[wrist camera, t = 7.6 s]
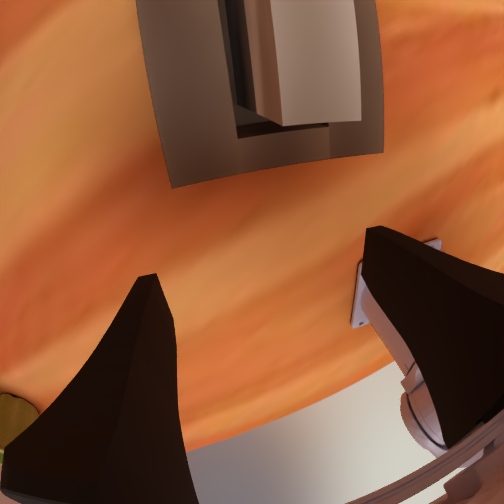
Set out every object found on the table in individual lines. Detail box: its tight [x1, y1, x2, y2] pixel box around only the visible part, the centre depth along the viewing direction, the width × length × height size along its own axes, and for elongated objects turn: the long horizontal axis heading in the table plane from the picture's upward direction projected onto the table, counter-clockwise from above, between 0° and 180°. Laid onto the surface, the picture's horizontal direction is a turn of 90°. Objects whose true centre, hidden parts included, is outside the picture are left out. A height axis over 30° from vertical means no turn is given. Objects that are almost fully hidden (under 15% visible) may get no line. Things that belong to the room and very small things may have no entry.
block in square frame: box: [136, 0, 384, 189], centre depth 11 cm, size 10×11×5 cm
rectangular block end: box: [225, 0, 361, 126], centre depth 9 cm, size 2×6×7 cm, turn 6°
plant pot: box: [0, 394, 39, 465], centre depth 22 cm, size 9×9×9 cm
